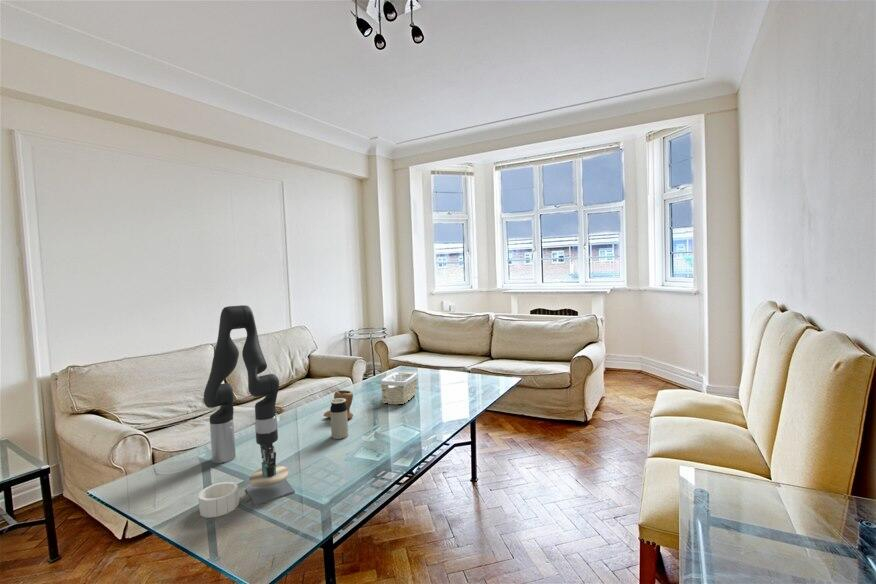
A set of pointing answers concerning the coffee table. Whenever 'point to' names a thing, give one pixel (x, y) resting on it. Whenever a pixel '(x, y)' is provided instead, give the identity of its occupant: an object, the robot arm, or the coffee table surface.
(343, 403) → the travel mug
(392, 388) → the storage basket
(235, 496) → the bowl
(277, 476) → the lid
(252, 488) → the mat
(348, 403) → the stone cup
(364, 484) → the coffee table surface
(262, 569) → the coffee table surface
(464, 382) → the coffee table surface
